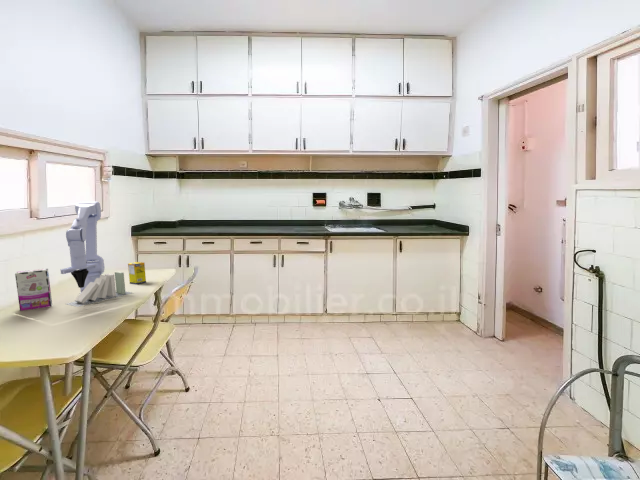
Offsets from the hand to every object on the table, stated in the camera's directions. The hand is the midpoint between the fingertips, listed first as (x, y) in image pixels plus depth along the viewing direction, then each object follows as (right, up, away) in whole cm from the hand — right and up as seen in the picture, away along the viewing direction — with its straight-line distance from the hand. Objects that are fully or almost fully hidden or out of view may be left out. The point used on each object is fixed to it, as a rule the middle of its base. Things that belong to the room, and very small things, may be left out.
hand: (81, 287), depth 181 cm
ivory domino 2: (+2, -6, +4) cm, 7 cm away
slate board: (+5, -6, +8) cm, 11 cm away
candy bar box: (-16, -9, -5) cm, 19 cm away
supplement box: (+7, -3, +41) cm, 41 cm away
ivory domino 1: (-1, -6, -1) cm, 6 cm away
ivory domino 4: (+7, -5, +12) cm, 15 cm away
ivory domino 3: (+5, -6, +8) cm, 10 cm away
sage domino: (+9, -5, +16) cm, 19 cm away
